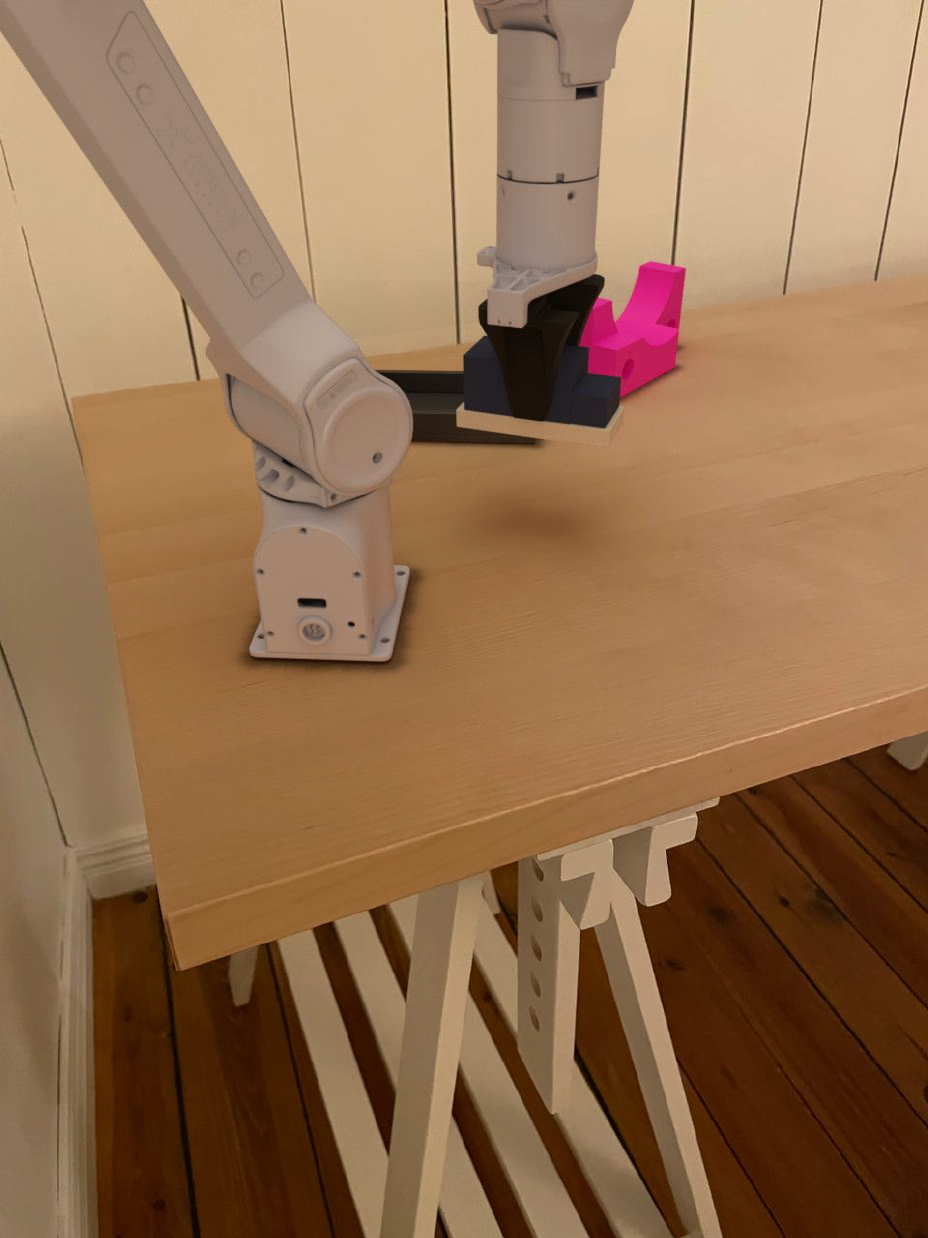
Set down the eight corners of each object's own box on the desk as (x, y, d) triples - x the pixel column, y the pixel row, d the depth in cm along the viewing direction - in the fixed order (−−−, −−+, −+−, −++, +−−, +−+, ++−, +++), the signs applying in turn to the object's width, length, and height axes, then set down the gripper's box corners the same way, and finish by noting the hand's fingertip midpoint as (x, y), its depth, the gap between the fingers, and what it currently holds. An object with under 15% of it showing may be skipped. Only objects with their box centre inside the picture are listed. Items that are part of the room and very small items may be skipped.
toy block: (612, 401, 84) (619, 314, 79) (553, 384, 87) (557, 299, 83) (700, 353, 93) (710, 272, 88) (643, 339, 96) (650, 260, 92)
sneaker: (456, 426, 63) (454, 354, 60) (477, 403, 66) (477, 333, 63) (608, 448, 60) (613, 373, 57) (623, 423, 63) (629, 350, 60)
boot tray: (535, 443, 77) (536, 415, 75) (345, 440, 78) (342, 411, 77) (536, 398, 84) (537, 371, 83) (363, 395, 85) (361, 369, 84)
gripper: (520, 146, 61) (516, 358, 69) (431, 196, 50) (439, 441, 58) (631, 152, 59) (614, 369, 67) (564, 205, 48) (553, 458, 56)
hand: (540, 404), depth 62 cm, fingers closed on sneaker, 4 cm apart
